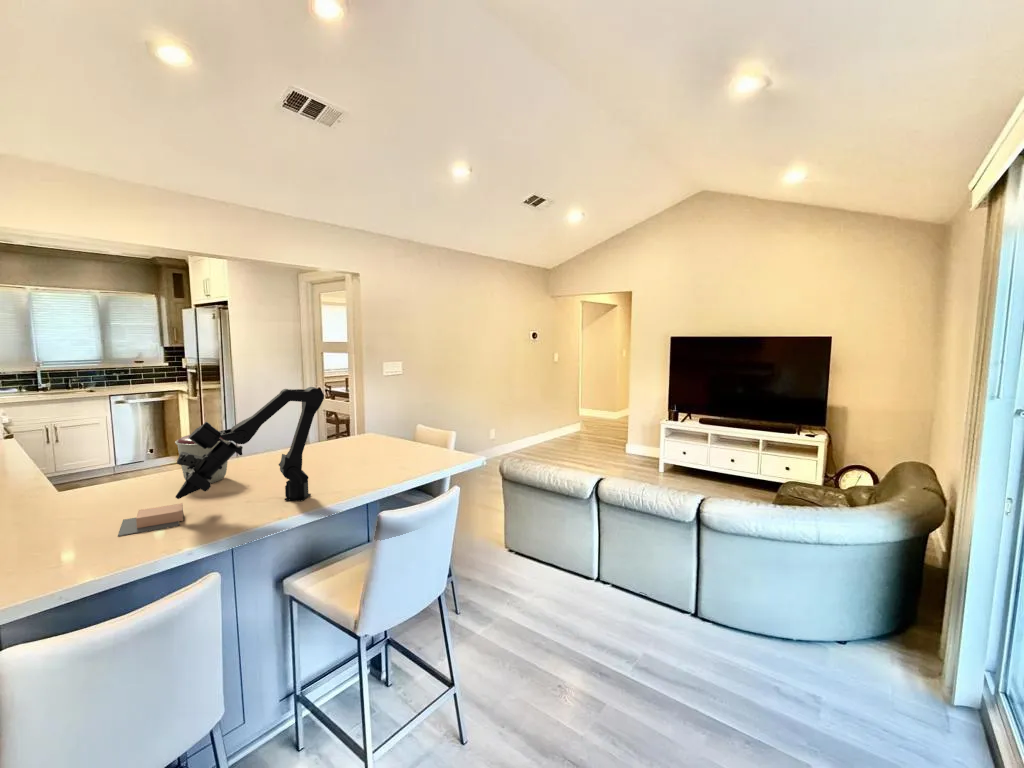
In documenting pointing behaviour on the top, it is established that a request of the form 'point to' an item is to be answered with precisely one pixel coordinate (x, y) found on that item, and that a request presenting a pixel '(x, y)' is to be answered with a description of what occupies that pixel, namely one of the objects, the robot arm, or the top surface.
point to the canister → (195, 449)
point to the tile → (159, 515)
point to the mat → (131, 527)
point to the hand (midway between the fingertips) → (176, 498)
